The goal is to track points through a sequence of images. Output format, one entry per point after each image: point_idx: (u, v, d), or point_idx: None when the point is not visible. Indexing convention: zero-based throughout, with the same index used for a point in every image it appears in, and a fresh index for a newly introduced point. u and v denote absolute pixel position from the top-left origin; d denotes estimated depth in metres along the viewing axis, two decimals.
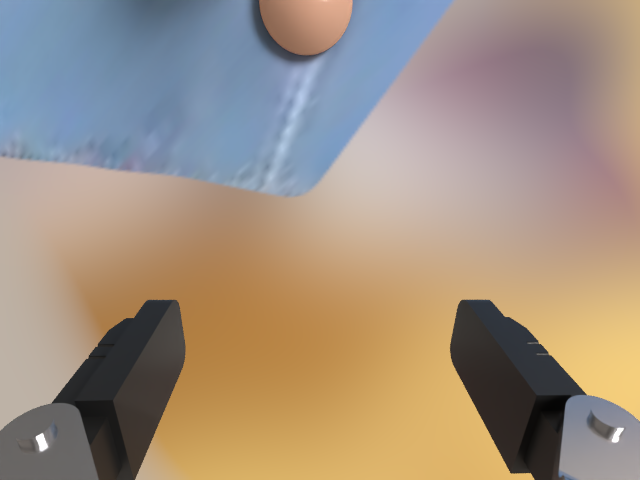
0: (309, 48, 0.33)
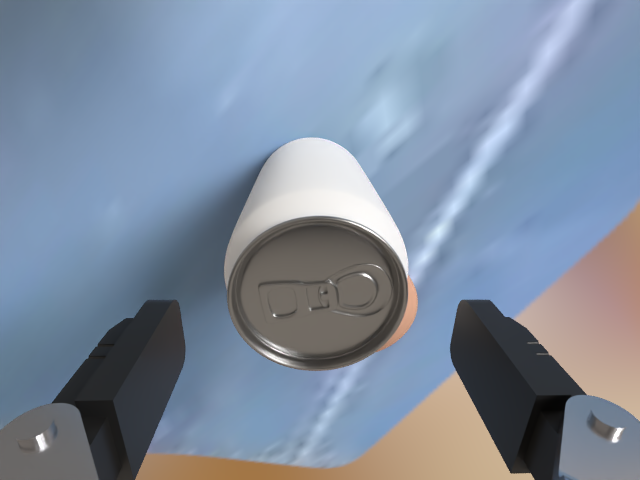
0: None
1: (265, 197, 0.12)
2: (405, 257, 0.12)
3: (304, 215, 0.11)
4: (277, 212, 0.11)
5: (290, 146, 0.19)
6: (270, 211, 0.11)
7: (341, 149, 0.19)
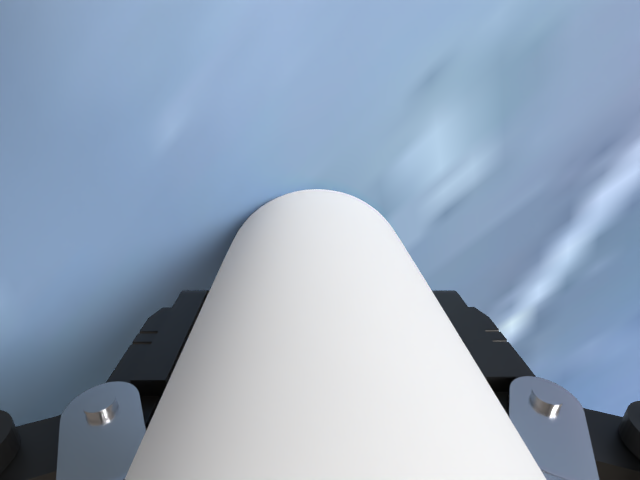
0: None
1: None
2: None
3: None
4: None
5: (279, 212, 0.11)
6: None
7: (369, 215, 0.11)
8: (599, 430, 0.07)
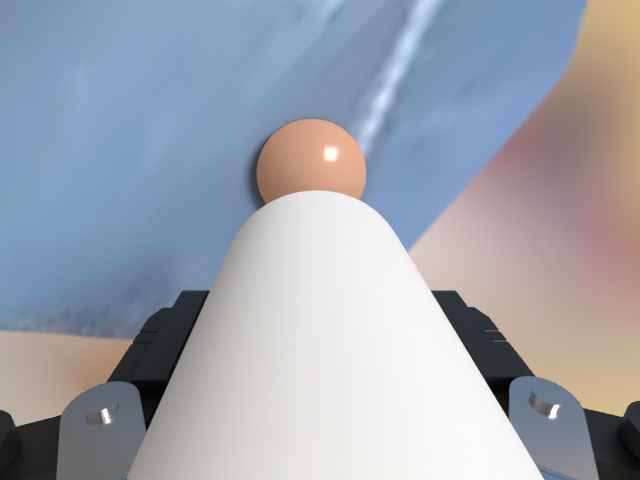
0: None
1: None
2: None
3: None
4: None
5: (279, 213, 0.11)
6: None
7: (369, 217, 0.11)
8: (599, 430, 0.07)
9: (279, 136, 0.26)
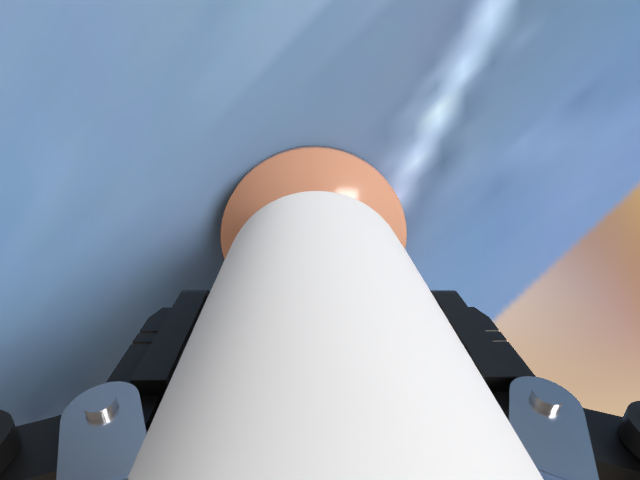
0: None
1: None
2: None
3: None
4: None
5: (279, 214, 0.11)
6: None
7: (369, 217, 0.11)
8: (599, 430, 0.07)
9: (258, 177, 0.15)
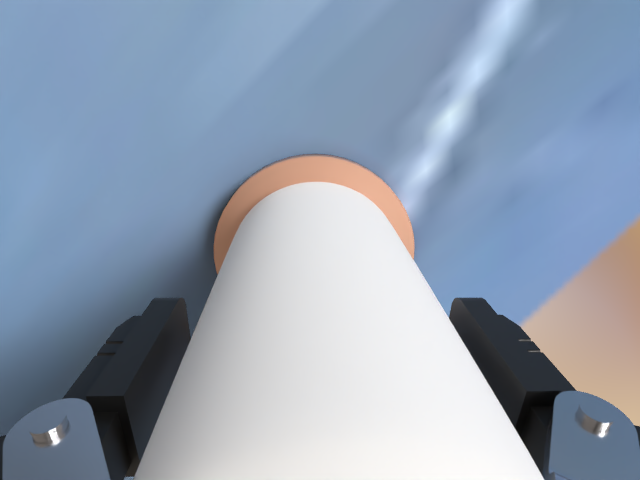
0: None
1: (203, 432, 0.04)
2: None
3: None
4: None
5: (281, 203, 0.11)
6: None
7: (366, 206, 0.12)
8: None
9: (254, 187, 0.14)
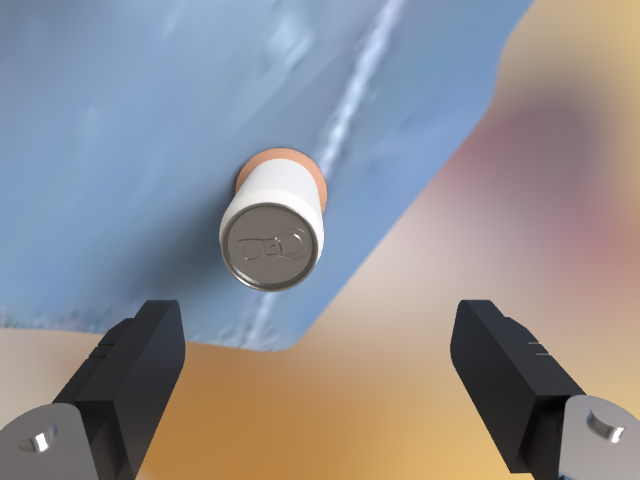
0: None
1: (241, 194, 0.22)
2: (319, 226, 0.22)
3: (260, 202, 0.21)
4: (246, 201, 0.21)
5: (263, 165, 0.29)
6: (243, 201, 0.21)
7: (297, 166, 0.29)
8: None
9: (253, 162, 0.31)
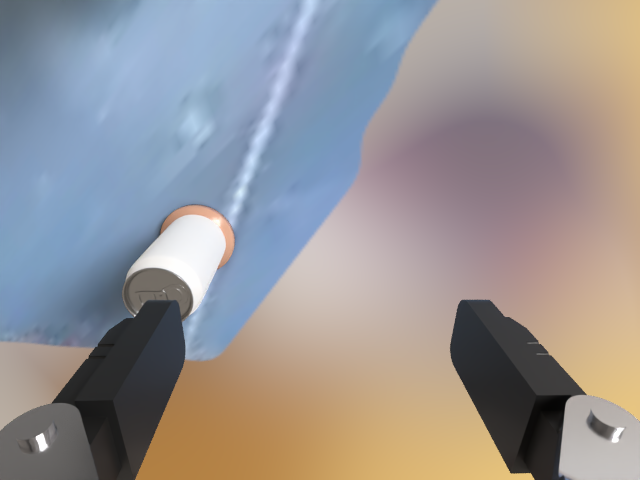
0: None
1: (140, 257, 0.31)
2: (197, 281, 0.31)
3: (148, 267, 0.29)
4: (141, 265, 0.30)
5: (176, 222, 0.38)
6: (139, 264, 0.30)
7: (203, 223, 0.38)
8: None
9: (172, 216, 0.40)
